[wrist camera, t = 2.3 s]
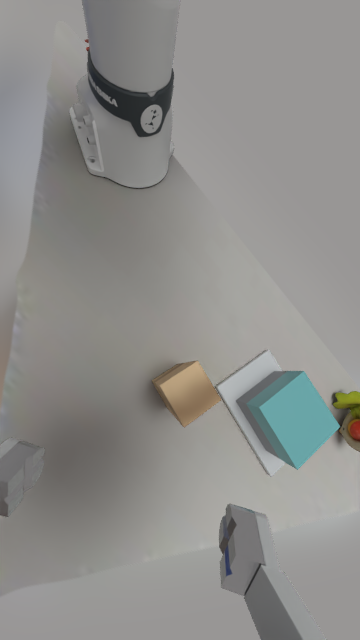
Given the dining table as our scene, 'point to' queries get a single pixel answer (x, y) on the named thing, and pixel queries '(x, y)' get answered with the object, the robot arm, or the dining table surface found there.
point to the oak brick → (186, 391)
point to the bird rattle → (350, 417)
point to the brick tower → (277, 412)
